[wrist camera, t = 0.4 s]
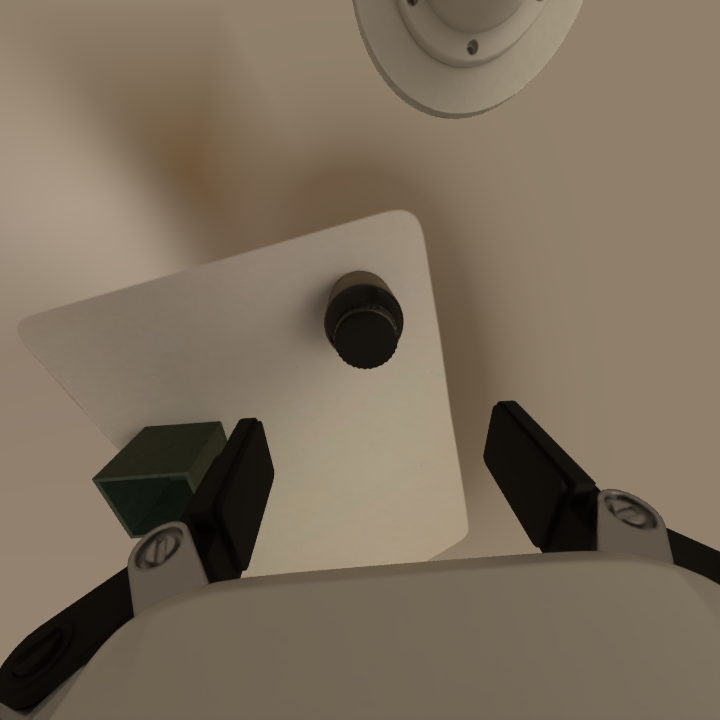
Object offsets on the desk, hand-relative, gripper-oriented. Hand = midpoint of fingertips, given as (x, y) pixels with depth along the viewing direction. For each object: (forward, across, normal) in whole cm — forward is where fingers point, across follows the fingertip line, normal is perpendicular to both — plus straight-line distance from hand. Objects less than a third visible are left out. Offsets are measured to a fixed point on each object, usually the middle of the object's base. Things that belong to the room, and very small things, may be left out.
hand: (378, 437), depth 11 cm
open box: (+22, +24, +20) cm, 38 cm away
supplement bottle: (+22, 0, 0) cm, 22 cm away
